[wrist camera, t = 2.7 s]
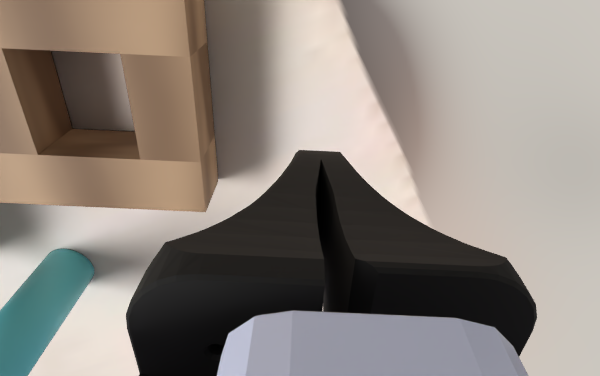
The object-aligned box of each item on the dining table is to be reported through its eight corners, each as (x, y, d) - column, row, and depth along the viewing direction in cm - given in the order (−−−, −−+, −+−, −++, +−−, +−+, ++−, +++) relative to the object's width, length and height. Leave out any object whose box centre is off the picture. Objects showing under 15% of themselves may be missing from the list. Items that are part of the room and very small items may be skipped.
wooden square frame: (201, -27, 16) (181, -22, 14) (218, 180, 22) (205, 211, 19) (-38, -38, 16) (-103, -36, 14) (35, 172, 22) (-2, 202, 19)
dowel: (88, 249, 25) (-14, 387, 17) (98, 284, 26) (10, 425, 18) (39, 247, 25) (-84, 384, 17) (53, 282, 26) (-54, 422, 18)
